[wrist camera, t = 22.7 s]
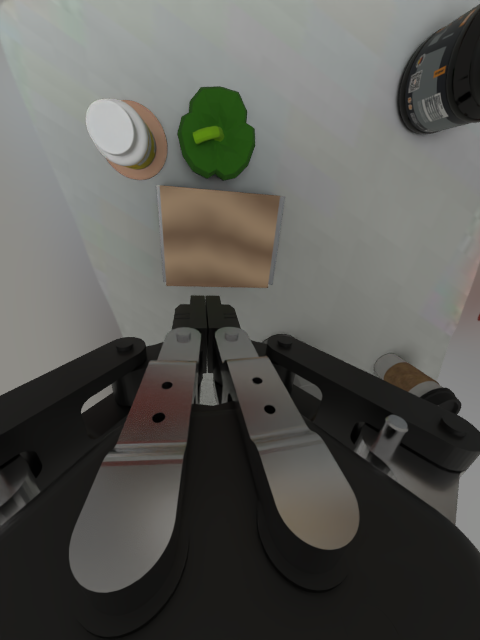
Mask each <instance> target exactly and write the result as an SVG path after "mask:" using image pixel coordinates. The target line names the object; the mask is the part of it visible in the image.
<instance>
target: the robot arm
mask: <svg viewBox="0 0 480 640" xmlns="http://www.w3.org/2000/svg"><path fill="white" fill-rule="evenodd" d="M207 366H208V373H213V388H214V393H215V398H216V403H217V405H215V406H209V405H201V404H200V394H201V381H202V378H203V373H206V371H207ZM110 384H112V388H113V393H112V394H110V395H109V396H107V397H106V398H104V399H103V400H101V401H100V402H98V403H97V404H95V405H94V406H92V407H91V408H89V409H88V410H87V411H85V412H83V413H82V414H81V408H82V406H83V404H84V403H85V402H86V401H87V400H88V399H89V398H90V397H92V396H93V395H95V394H97V393H98V392H100V391H101V390H103V389H104V388H106V387H107V386H109V385H110ZM479 455H480V432H479V431H478V430H477V429H476V428H475V427H474V426H473V425H471V424H470V423H469V422H468V421H466V420H465V419H463V418H462V417H460V416H458V415H456V414H454V413H452V412H450V411H448V410H446V409H444V408H441V407H439V406H437V405H435V404H433V403H431V402H429V401H427V400H424V399H422V398H420V397H418V396H416V395H414V394H412V393H410V392H407V391H405V390H403V389H401V388H399V387H397V386H395V385H393V384H390V383H388V382H386V381H384V380H382V379H380V378H378V377H376V376H373V375H371V374H369V373H367V372H365V371H363V370H361V369H359V368H356V367H354V366H352V365H350V364H348V363H346V362H344V361H342V360H339V359H337V358H335V357H333V356H331V355H329V354H327V353H325V352H322V351H320V350H318V349H316V348H314V347H312V346H310V345H308V344H305V343H303V342H301V341H299V340H297V339H295V338H293V337H291V336H289V335H274V336H271V337H270V338H268V339H267V340H265V341H264V342H263V343H259V342H255V341H252V340H250V338H249V336H248V334H247V333H246V332H245V331H244V330H242V329H241V328H240V325H239V321H238V318H237V315H236V312H235V309H234V308H233V307H232V306H230V305H221V301H220V296H206V299H205V296H192V295H191V300H190V304H180V305H179V306H178V307H177V308H176V309H175V315H174V320H173V326H172V330H171V331H169V332H168V333H167V335H166V337H165V340H164V342H162V343H159V344H156V345H151V346H147V347H146V345H145V342H144V341H143V340H142V339H139V338H135V337H125V338H120V339H116V340H114V341H112V342H110V343H108V344H106V345H103V346H101V347H99V348H97V349H95V350H93V351H91V352H89V353H87V354H85V355H83V356H81V357H79V358H77V359H75V360H73V361H71V362H69V363H66V364H65V365H62V366H60V367H58V368H57V369H54V370H52V371H51V372H48V373H46V374H44V375H42V376H40V377H38V378H36V379H34V380H32V381H30V382H27V383H26V384H23V385H21V386H19V387H17V388H15V389H13V390H11V391H9V392H7V393H5V394H3V395H1V396H0V640H480V552H479V551H478V550H477V548H476V547H475V546H474V545H473V544H472V543H471V541H470V540H469V539H468V538H467V537H466V536H465V535H464V534H463V533H462V532H461V531H460V530H459V529H458V528H457V527H456V526H455V523H456V511H457V499H458V487H459V478H460V477H461V476H462V475H463V474H464V472H465V471H466V470H467V469H468V468H469V466H470V465H471V464H472V463H473V462H474V461H475V459H476V458H477V457H478V456H479Z"/></svg>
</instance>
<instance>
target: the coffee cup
mask: <svg viewBox="0 0 480 640" xmlns="http://www.w3.org/2000/svg"><path fill="white" fill-rule="evenodd" d="M374 369H375V371H376V373H377V374H378V375H379V376H380V377H381V378H382V380H384V381H386V382H388V383H390V384H393V385H395V386H397V387H399V388H401V389H403V390H405V391H407V392H410V393H412V394H414V395H416V396H418V397H420V398H422V399H424V400H427V401H429V402H431V403H433V404H435V405H437V406H439V407H441V408H444V409H446V410H448V411H450V412H452V413H454V414H456V415H457V414H458V413H459V411H460V409H461V402H460V401H459V400H458V399H457V398H456V397H455V395H454V393H453V392H452V391H451V390H450V389H448V388H443V387H442V386H440V385H439V383H438V382H436V381H435V380H433V379H432V378H430V377H429V376H427V375H426V374H424V373H423V372H421V371H420V370H418V369H417V368H415V367H414V366H412V365H411V364H409V363H407V362H406V361H404V360H403V359H401V358H400V357H399V356H397V355H396V354H392V353H390V354H386V355H384V356H382V357H380V358H379V359H378V360H377V362H376V363H375V366H374Z"/></svg>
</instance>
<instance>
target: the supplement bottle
mask: <svg viewBox="0 0 480 640" xmlns="http://www.w3.org/2000/svg"><path fill="white" fill-rule="evenodd" d="M86 126H87V130H88V133H89V135H90V137H91V138H92V140H93V142H94V144H95V145H96V147H97V149H98V150H99V151H100V152H101V154H102V155H103V156H104V157H106V158H107V159H108V160H110V161H111V162H113V163H115V164H118V165H121V166H124V167H128V168H131V169H136V170H140V169H144V168H146V167H148V166H149V165H150V164H151V163H152V162H153V160H154V158H155V155H156V142H155V138H154V136H153V133H152V131H151V130H150V128H149V127H148V126H147V124H146V123H145V122H144V121H143V119H142V118H141V117H140V115H139V114H138V113H137V112H136V111H135V110H134V109H133V108H132V107H131V106H130V105H128V104H127V103H125V102H123V101H121V100H118V99H99V100H96V101H94V102H93V103H92V104H91V105H90V106H89V108H88V110H87V113H86Z"/></svg>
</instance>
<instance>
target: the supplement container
mask: <svg viewBox="0 0 480 640" xmlns="http://www.w3.org/2000/svg"><path fill="white" fill-rule="evenodd" d="M399 107H400V113H401V116H402V119H403V121H404V123H405V124H406V126H407V127H408V128H409V129H410V130H412V131H413V132H415V133H418V134H431V133H436V132H438V131H441V130H445V129H449V128H453V127H457V126H461V125H465V124H469V123H477V122H480V4H479V5H478V6H476V7H475V8H473V9H472V10H470V11H468V12H467V13H465V14H464V15H462V16H461V17H459V18H458V19H456V20H455V21H453V22H452V23H450V24H449V25H447V26H446V27H444V28H442V29H440V30H438V31H437V32H435V33H434V34H433V35H431V36H430V37H429V38H428V39H427V40H426V41H425V42H424V43H423V44H422V45H421V46H420V47H419V48H418V50H417V51H416V53H415V54H414V56H413V57H412V59H411V60H410V62H409V64H408V66H407V68H406V71H405V73H404V76H403V79H402V83H401V87H400V94H399Z"/></svg>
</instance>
